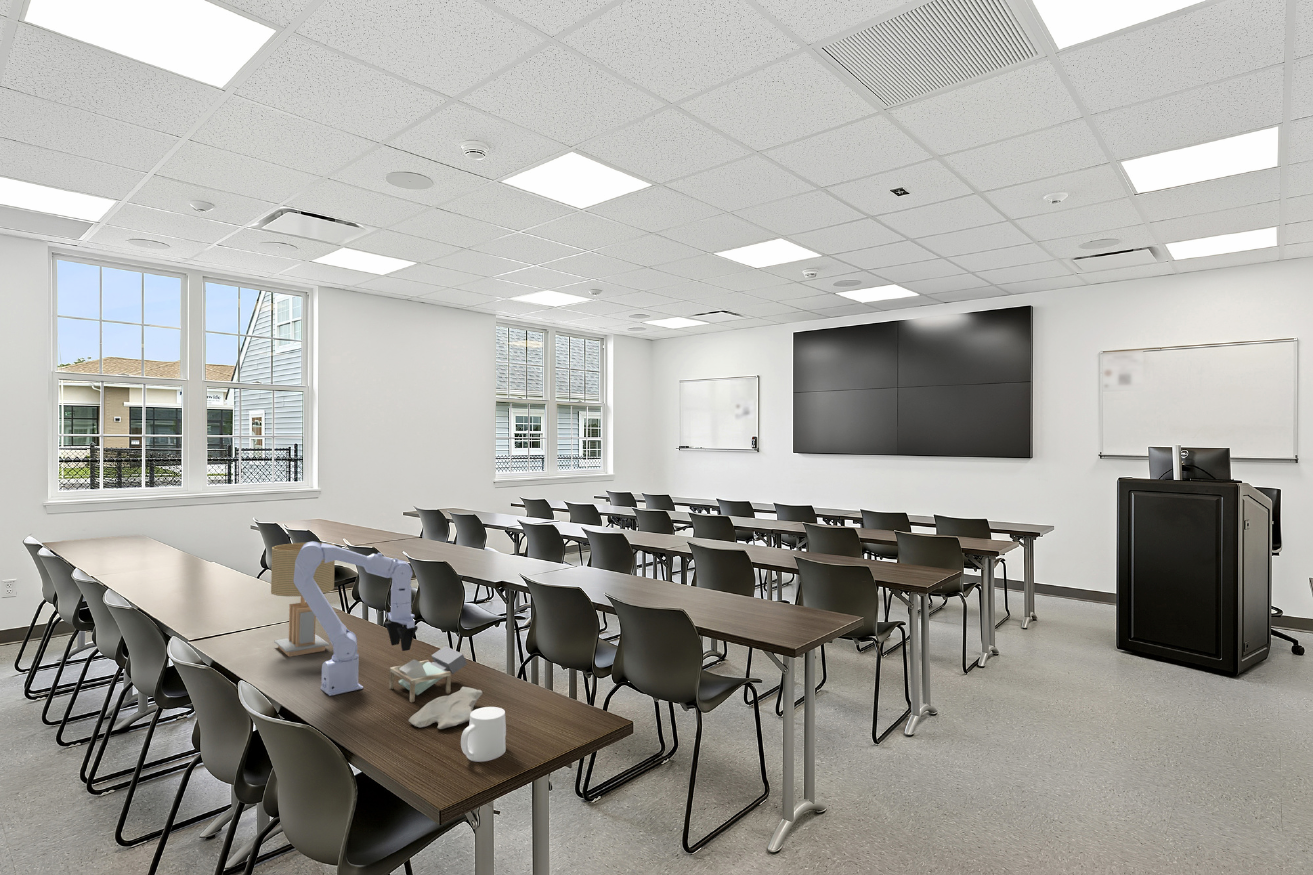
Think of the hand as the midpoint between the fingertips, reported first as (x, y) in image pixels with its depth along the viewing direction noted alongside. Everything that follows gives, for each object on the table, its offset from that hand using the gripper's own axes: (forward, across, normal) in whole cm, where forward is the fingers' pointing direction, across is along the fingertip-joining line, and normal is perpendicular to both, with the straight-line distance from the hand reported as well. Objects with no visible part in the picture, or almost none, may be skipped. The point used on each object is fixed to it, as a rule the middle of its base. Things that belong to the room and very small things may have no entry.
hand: (400, 647), depth 211 cm
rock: (+11, -36, +1) cm, 37 cm away
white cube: (+7, -10, 0) cm, 13 cm away
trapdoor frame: (+10, -10, -1) cm, 15 cm away
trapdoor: (+7, -10, -6) cm, 14 cm away
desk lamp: (+10, +54, +11) cm, 56 cm away
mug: (+11, -60, +6) cm, 61 cm away
